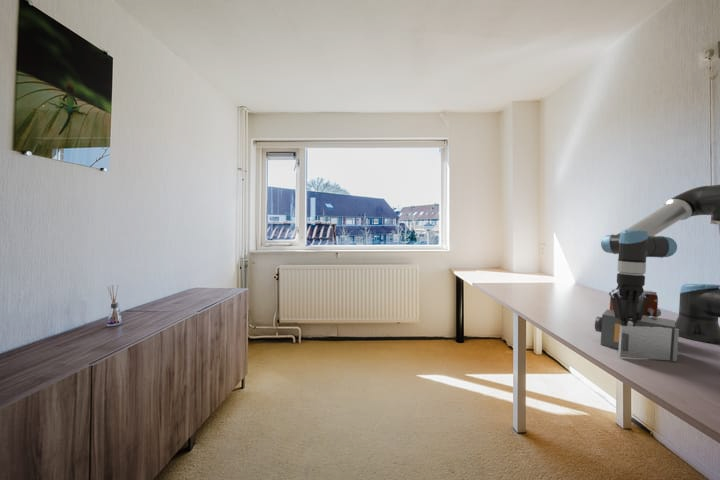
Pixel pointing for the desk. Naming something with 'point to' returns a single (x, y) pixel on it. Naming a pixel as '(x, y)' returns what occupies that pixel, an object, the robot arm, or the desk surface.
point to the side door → (645, 342)
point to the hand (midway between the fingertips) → (626, 339)
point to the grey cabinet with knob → (611, 325)
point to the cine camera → (647, 304)
